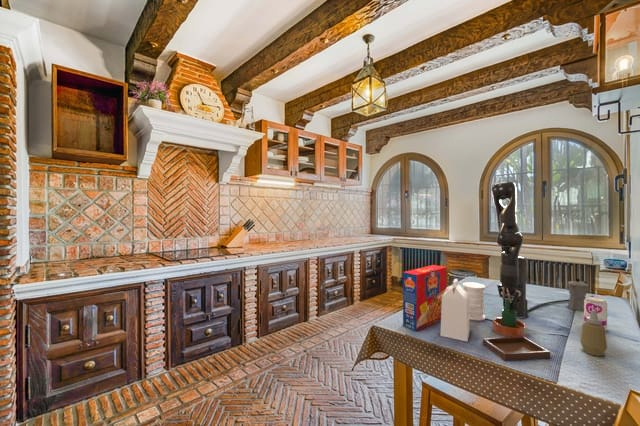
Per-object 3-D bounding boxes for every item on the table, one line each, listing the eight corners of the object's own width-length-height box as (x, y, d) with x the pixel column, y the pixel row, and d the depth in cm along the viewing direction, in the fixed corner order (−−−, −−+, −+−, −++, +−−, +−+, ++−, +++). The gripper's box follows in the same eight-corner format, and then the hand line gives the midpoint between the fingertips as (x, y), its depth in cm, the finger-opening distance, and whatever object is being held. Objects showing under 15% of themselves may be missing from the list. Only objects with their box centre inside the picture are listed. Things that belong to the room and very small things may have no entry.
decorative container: (488, 322, 151) (489, 288, 150) (465, 320, 153) (465, 287, 153) (480, 314, 162) (481, 282, 162) (459, 312, 165) (459, 281, 164)
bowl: (511, 326, 145) (511, 316, 145) (532, 338, 132) (532, 327, 132) (486, 327, 144) (486, 317, 144) (505, 339, 131) (506, 329, 131)
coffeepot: (580, 313, 162) (581, 281, 162) (561, 307, 171) (562, 277, 171) (595, 309, 168) (596, 278, 168) (576, 303, 177) (576, 275, 177)
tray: (523, 341, 129) (523, 336, 129) (550, 358, 115) (550, 351, 115) (482, 344, 127) (482, 338, 127) (504, 360, 114) (504, 354, 114)
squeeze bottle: (574, 348, 123) (575, 307, 122) (592, 347, 124) (592, 306, 123) (594, 358, 115) (595, 314, 114) (612, 357, 115) (613, 313, 115)
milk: (467, 341, 130) (467, 285, 129) (440, 335, 136) (440, 281, 135) (469, 331, 140) (470, 279, 139) (444, 326, 146) (444, 276, 145)
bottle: (509, 328, 141) (510, 296, 141) (519, 334, 136) (519, 300, 135) (498, 329, 141) (498, 297, 140) (507, 334, 135) (507, 301, 134)
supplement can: (602, 333, 137) (603, 302, 136) (580, 327, 144) (581, 297, 144) (609, 330, 140) (610, 299, 140) (588, 323, 148) (588, 295, 147)
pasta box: (416, 331, 141) (416, 275, 140) (403, 325, 147) (403, 272, 147) (446, 317, 158) (446, 267, 157) (433, 312, 164) (433, 264, 164)
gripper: (528, 277, 131) (528, 314, 131) (505, 270, 145) (505, 303, 145) (513, 277, 130) (512, 314, 131) (491, 270, 144) (491, 304, 145)
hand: (509, 308), depth 138 cm, fingers closed on bottle, 3 cm apart
